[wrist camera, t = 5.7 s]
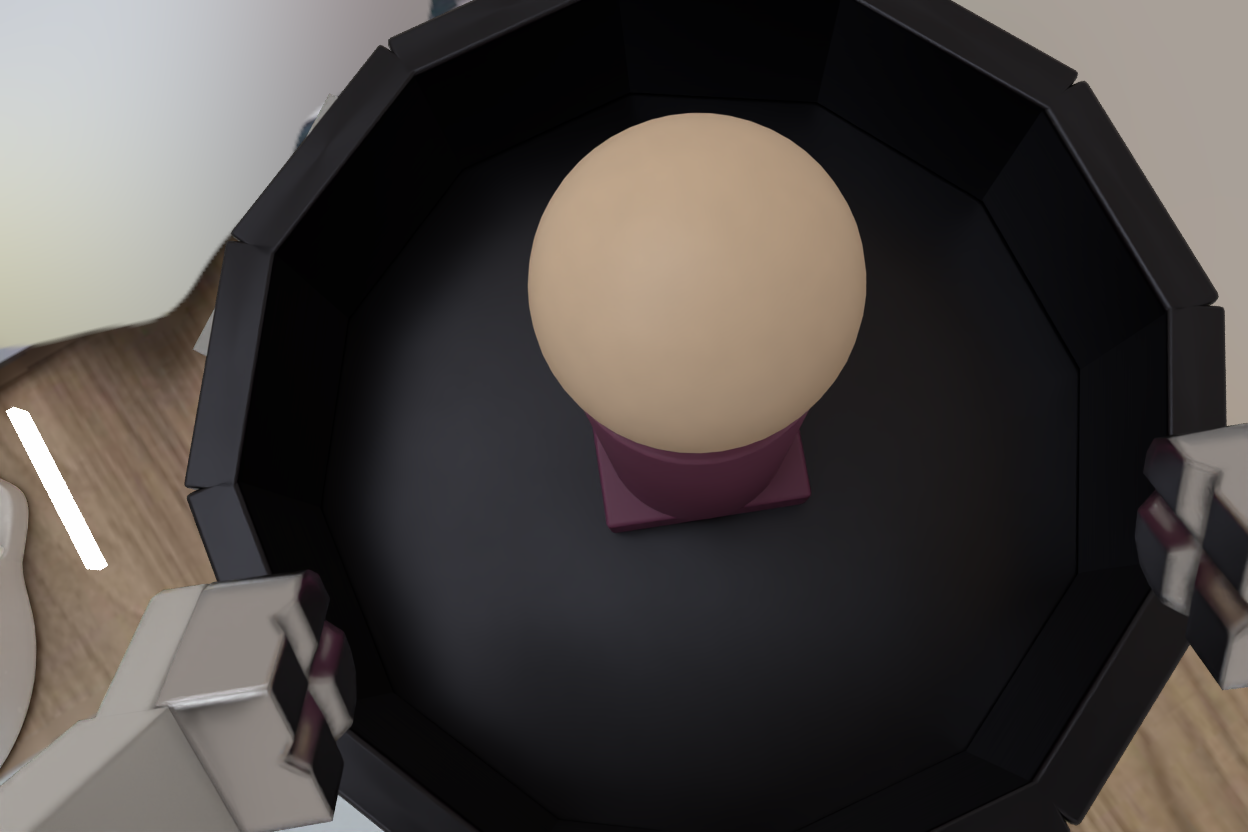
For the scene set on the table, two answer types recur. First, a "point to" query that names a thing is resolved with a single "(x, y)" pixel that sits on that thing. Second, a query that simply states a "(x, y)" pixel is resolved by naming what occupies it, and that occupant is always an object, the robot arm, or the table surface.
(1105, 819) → the table surface
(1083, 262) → the pan
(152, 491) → the table surface
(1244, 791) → the table surface
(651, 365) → the beige ball on pedestal
